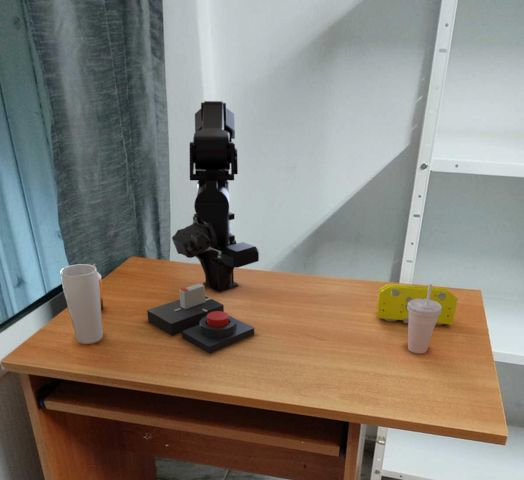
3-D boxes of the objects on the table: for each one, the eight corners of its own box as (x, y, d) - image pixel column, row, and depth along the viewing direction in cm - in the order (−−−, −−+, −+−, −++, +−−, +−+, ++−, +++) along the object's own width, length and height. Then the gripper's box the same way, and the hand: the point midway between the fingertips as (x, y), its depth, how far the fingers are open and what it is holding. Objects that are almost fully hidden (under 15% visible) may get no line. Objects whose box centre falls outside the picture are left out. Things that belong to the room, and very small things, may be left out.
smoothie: (415, 359, 104) (427, 292, 97) (394, 345, 109) (403, 280, 102) (440, 352, 106) (453, 286, 99) (418, 338, 111) (429, 275, 104)
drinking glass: (113, 335, 111) (104, 266, 104) (91, 349, 106) (80, 278, 98) (88, 329, 114) (77, 261, 106) (65, 342, 108) (52, 272, 101)
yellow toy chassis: (376, 322, 118) (380, 286, 114) (376, 311, 123) (380, 277, 119) (451, 328, 115) (459, 293, 111) (448, 317, 120) (455, 282, 116)
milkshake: (110, 305, 124) (104, 264, 119) (102, 315, 120) (95, 272, 115) (91, 304, 125) (84, 263, 120) (82, 314, 120) (75, 272, 115)
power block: (226, 321, 118) (226, 306, 116) (254, 335, 112) (254, 320, 110) (182, 338, 110) (180, 323, 109) (209, 354, 105) (208, 338, 103)
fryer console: (198, 304, 125) (197, 291, 124) (225, 317, 119) (224, 304, 118) (147, 322, 117) (145, 308, 115) (173, 337, 111) (172, 323, 109)
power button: (219, 316, 112) (219, 309, 111) (233, 323, 110) (233, 315, 109) (202, 322, 110) (202, 315, 109) (216, 330, 107) (216, 322, 106)
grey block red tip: (200, 299, 120) (199, 282, 118) (205, 302, 119) (204, 284, 117) (180, 306, 117) (179, 288, 115) (185, 309, 116) (184, 291, 113)
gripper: (148, 206, 99) (155, 284, 107) (211, 227, 87) (214, 314, 95) (196, 196, 106) (199, 271, 113) (261, 215, 94) (260, 297, 102)
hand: (216, 287), depth 106 cm, fingers open, 3 cm apart
